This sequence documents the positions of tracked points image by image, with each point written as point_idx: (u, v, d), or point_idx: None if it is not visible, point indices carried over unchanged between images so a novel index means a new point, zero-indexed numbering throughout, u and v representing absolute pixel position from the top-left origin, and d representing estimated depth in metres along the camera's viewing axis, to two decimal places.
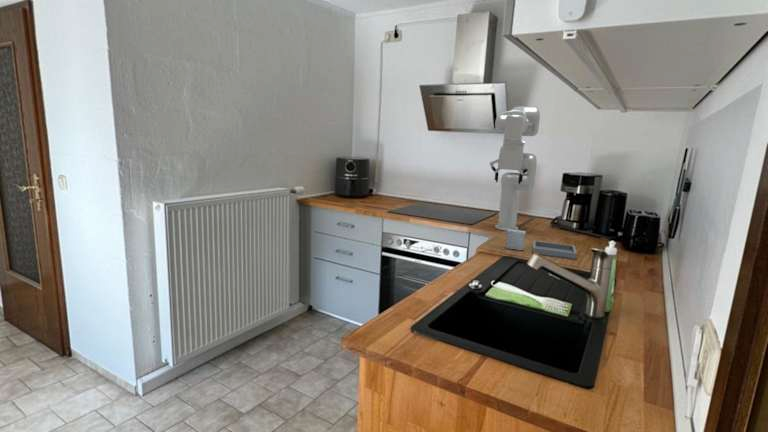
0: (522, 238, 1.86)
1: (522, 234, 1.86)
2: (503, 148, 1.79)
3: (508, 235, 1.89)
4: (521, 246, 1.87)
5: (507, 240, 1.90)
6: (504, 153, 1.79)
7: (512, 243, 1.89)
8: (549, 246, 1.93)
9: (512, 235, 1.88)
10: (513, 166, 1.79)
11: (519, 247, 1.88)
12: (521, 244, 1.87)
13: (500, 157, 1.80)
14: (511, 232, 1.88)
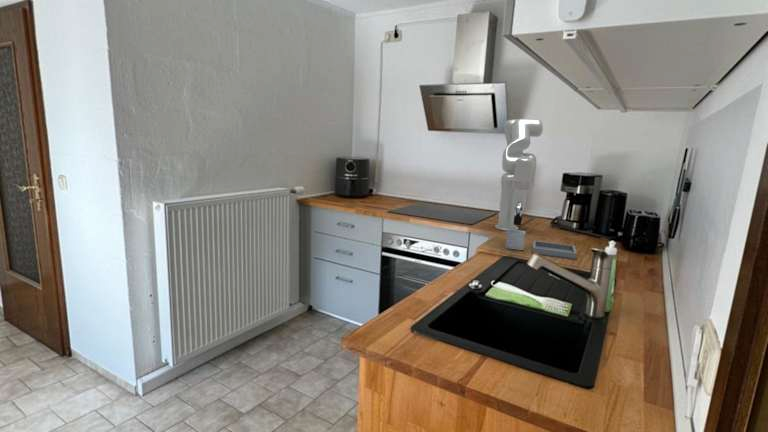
0: (522, 238, 1.86)
1: (522, 234, 1.86)
2: (525, 191, 1.81)
3: (508, 235, 1.89)
4: (521, 246, 1.87)
5: (507, 240, 1.90)
6: (525, 196, 1.82)
7: (512, 243, 1.89)
8: (549, 246, 1.93)
9: (512, 235, 1.88)
10: None
11: (519, 247, 1.88)
12: (521, 244, 1.87)
13: (524, 200, 1.81)
14: (511, 232, 1.88)
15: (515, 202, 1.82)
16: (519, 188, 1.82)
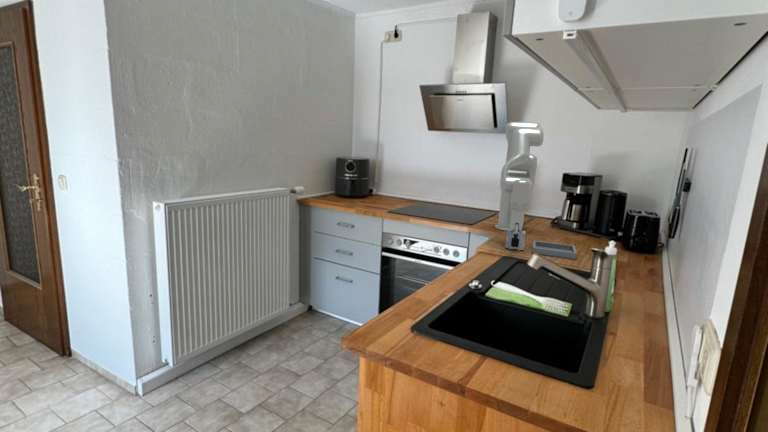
0: (522, 238, 1.86)
1: (522, 234, 1.86)
2: (523, 213, 1.83)
3: (508, 235, 1.89)
4: (521, 246, 1.87)
5: (507, 240, 1.90)
6: (523, 217, 1.84)
7: None
8: (549, 246, 1.93)
9: (512, 235, 1.88)
10: None
11: (519, 247, 1.88)
12: (521, 244, 1.87)
13: (522, 222, 1.83)
14: (511, 232, 1.88)
15: (513, 223, 1.84)
16: (517, 209, 1.84)
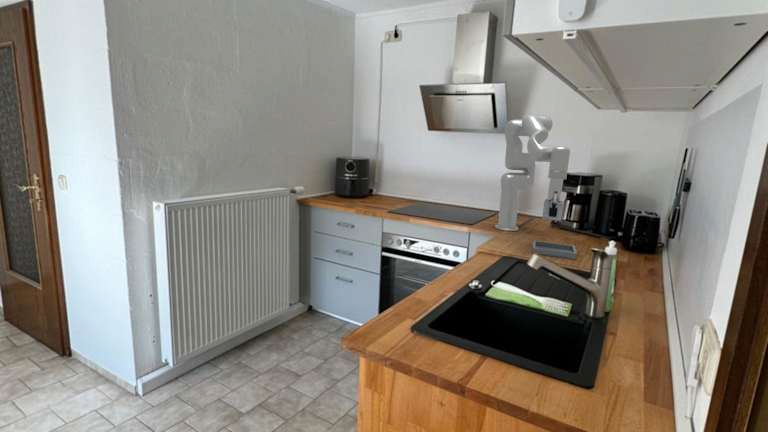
0: (560, 207, 1.80)
1: (560, 203, 1.80)
2: (562, 181, 1.77)
3: (545, 205, 1.83)
4: (559, 216, 1.81)
5: (544, 210, 1.83)
6: None
7: None
8: (549, 246, 1.93)
9: (549, 205, 1.82)
10: None
11: (557, 217, 1.81)
12: (559, 214, 1.81)
13: (561, 190, 1.77)
14: (549, 201, 1.82)
15: (551, 192, 1.78)
16: (555, 177, 1.78)
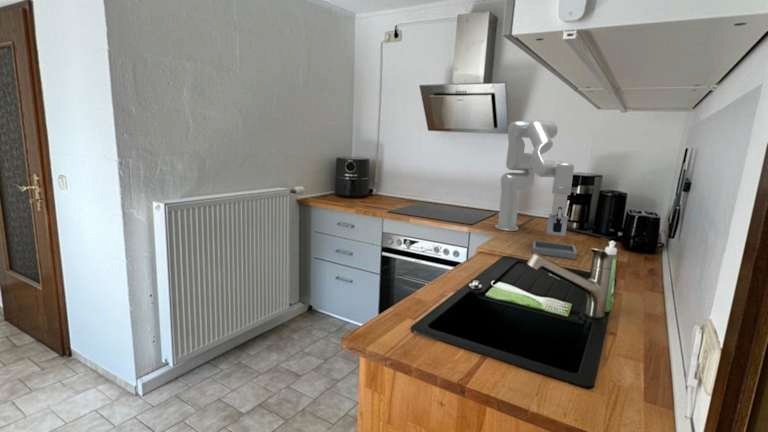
0: (565, 223, 1.81)
1: (565, 219, 1.81)
2: (566, 196, 1.78)
3: (550, 220, 1.83)
4: (564, 231, 1.82)
5: (549, 225, 1.84)
6: (566, 201, 1.79)
7: None
8: (549, 246, 1.93)
9: (554, 220, 1.83)
10: None
11: (561, 232, 1.82)
12: (564, 229, 1.82)
13: (565, 206, 1.78)
14: (553, 217, 1.83)
15: (556, 207, 1.79)
16: (560, 193, 1.78)
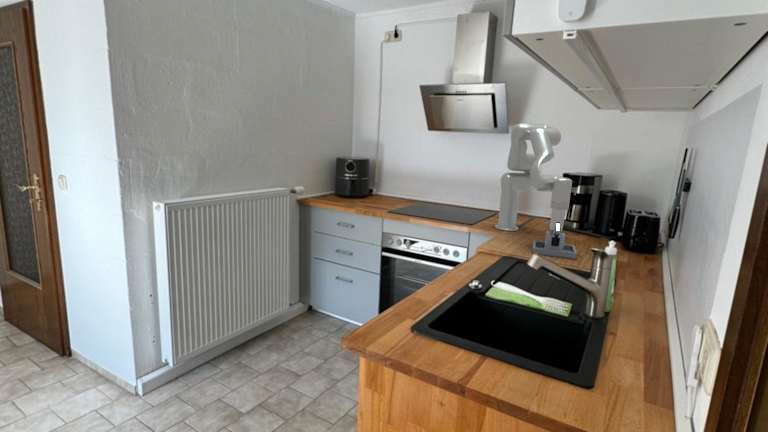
0: (562, 240, 1.83)
1: (562, 236, 1.83)
2: (564, 211, 1.79)
3: (547, 237, 1.85)
4: (561, 248, 1.84)
5: (546, 242, 1.86)
6: (564, 216, 1.80)
7: None
8: None
9: (551, 238, 1.84)
10: None
11: (559, 249, 1.84)
12: (561, 246, 1.84)
13: (563, 221, 1.79)
14: (551, 234, 1.84)
15: (554, 222, 1.80)
16: (558, 208, 1.80)
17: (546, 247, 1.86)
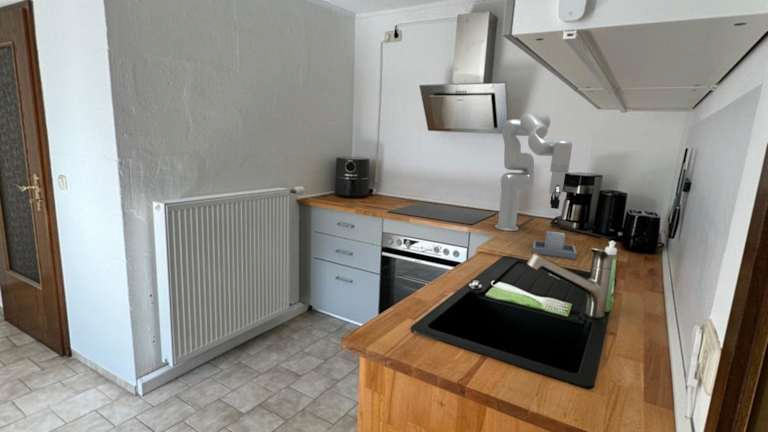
0: (562, 240, 1.83)
1: (562, 236, 1.83)
2: (564, 174, 1.79)
3: (547, 237, 1.85)
4: (561, 248, 1.84)
5: (546, 242, 1.86)
6: None
7: (552, 245, 1.85)
8: None
9: (551, 238, 1.84)
10: None
11: (559, 249, 1.84)
12: (561, 246, 1.84)
13: None
14: (551, 234, 1.84)
15: (553, 185, 1.80)
16: (557, 171, 1.80)
17: (546, 247, 1.86)
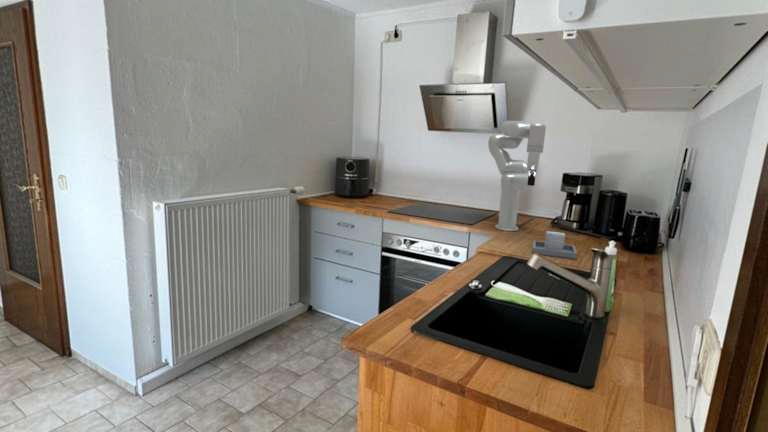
0: (562, 240, 1.83)
1: (562, 236, 1.83)
2: (539, 154, 1.96)
3: (547, 237, 1.85)
4: (561, 248, 1.84)
5: (546, 242, 1.86)
6: None
7: (552, 245, 1.85)
8: None
9: (551, 238, 1.84)
10: None
11: (559, 249, 1.84)
12: (561, 246, 1.84)
13: (537, 162, 1.96)
14: (551, 234, 1.84)
15: (529, 164, 1.97)
16: (533, 151, 1.97)
17: (546, 247, 1.86)
